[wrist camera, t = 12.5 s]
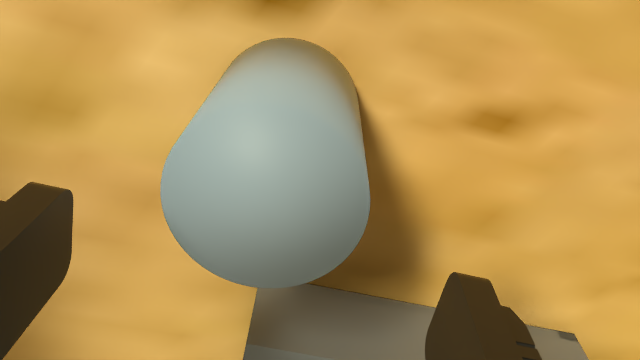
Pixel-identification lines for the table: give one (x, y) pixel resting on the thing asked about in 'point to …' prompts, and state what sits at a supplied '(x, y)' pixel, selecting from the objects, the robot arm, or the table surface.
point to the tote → (357, 328)
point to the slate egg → (271, 169)
